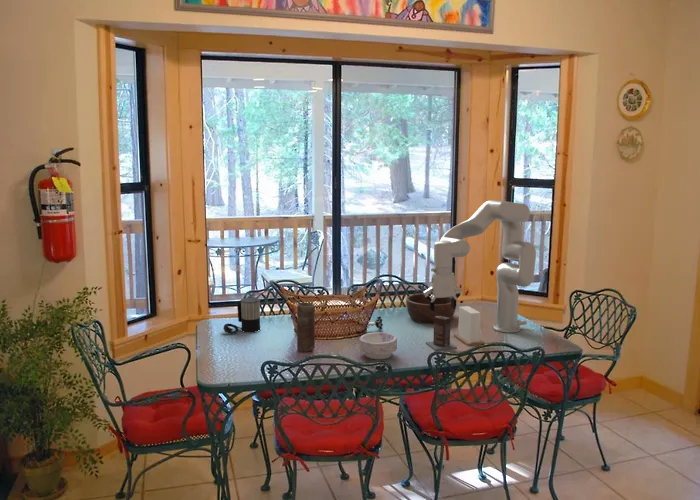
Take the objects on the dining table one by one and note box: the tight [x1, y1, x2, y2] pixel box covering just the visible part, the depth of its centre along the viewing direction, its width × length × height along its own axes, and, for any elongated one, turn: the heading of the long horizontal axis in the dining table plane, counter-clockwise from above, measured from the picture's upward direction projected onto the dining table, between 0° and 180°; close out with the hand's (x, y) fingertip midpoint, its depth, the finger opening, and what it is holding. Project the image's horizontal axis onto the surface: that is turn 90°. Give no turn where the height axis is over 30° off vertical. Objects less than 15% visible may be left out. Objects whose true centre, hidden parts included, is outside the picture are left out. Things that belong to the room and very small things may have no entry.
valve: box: [366, 315, 384, 331], centre depth 280 cm, size 7×7×12 cm
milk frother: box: [223, 296, 261, 335], centre depth 278 cm, size 14×16×15 cm
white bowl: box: [359, 331, 398, 360], centre depth 245 cm, size 15×15×8 cm
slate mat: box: [425, 341, 457, 351], centre depth 258 cm, size 10×10×1 cm
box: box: [432, 316, 452, 347], centre depth 257 cm, size 6×4×12 cm
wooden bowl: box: [405, 292, 457, 325], centre depth 301 cm, size 25×25×10 cm
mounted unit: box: [453, 305, 485, 347], centre depth 265 cm, size 8×14×14 cm, turn 15°
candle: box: [296, 301, 316, 353], centre depth 251 cm, size 8×7×20 cm
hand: (442, 309), depth 256 cm, fingers open, 9 cm apart
